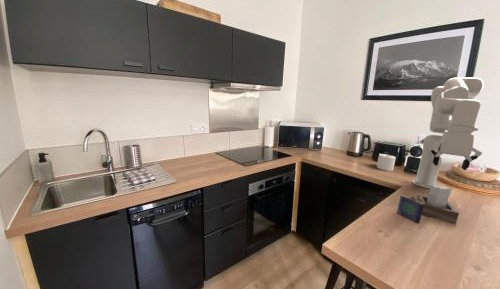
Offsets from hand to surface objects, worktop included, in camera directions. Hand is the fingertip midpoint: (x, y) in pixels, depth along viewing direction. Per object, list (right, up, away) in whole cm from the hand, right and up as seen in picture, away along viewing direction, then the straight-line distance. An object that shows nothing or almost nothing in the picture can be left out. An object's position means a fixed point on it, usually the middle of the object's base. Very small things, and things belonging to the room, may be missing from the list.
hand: (449, 167), depth 93 cm
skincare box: (-3, -21, +5) cm, 22 cm away
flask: (-19, -23, 0) cm, 29 cm away
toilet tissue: (+14, -8, +67) cm, 69 cm away
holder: (-3, -22, +5) cm, 23 cm away
